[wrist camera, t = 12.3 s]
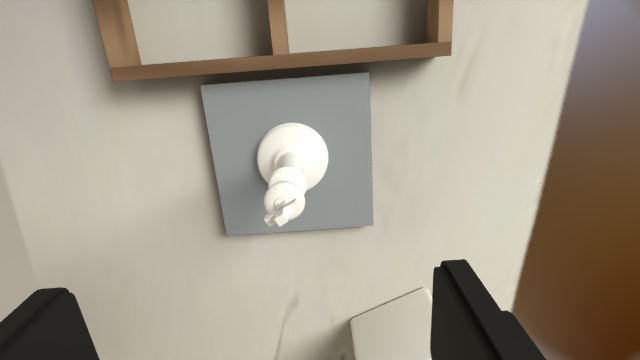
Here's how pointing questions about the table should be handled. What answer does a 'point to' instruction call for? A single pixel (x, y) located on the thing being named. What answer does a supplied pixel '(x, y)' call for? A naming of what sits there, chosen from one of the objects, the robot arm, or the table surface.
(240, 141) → the pad
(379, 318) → the medicine bottle
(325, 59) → the bay frame
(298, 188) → the chess piece
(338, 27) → the table surface
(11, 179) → the table surface
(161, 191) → the table surface
